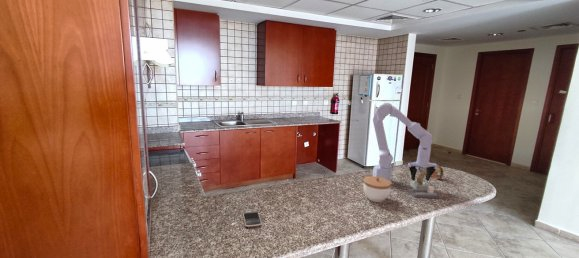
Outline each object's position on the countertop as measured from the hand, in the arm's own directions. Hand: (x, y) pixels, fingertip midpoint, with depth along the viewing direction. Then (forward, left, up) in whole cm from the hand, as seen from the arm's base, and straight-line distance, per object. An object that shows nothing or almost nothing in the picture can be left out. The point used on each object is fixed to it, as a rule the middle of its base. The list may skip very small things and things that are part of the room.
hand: (420, 179), depth 143 cm
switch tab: (+1, -9, -3) cm, 9 cm away
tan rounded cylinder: (0, 0, -4) cm, 4 cm away
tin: (+16, +18, -5) cm, 25 cm away
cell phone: (-85, -36, -6) cm, 92 cm away
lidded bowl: (-28, -14, -5) cm, 32 cm away
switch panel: (-2, -8, -5) cm, 10 cm away
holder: (0, 0, -5) cm, 5 cm away
